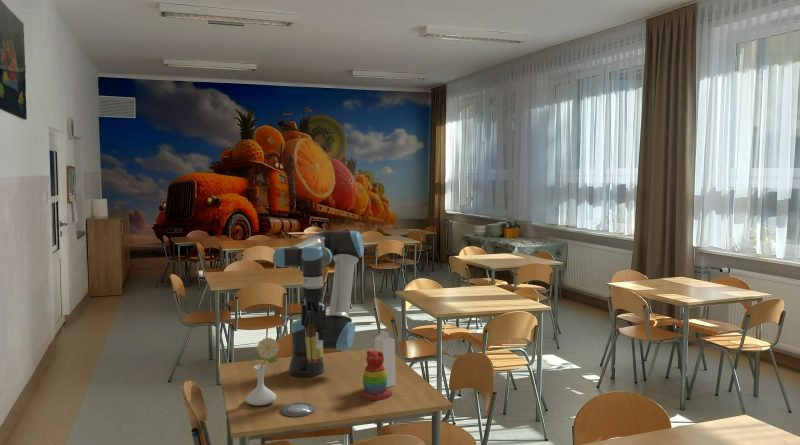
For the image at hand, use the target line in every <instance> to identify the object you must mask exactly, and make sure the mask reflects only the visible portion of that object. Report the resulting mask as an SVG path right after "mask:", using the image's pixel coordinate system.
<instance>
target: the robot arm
mask: <svg viewBox="0 0 800 445" xmlns="http://www.w3.org/2000/svg"><path fill="white" fill-rule="evenodd" d="M364 250H365V249H364V240H363V236H362V234H361V233H360V232H359V231H358V230H325V231H324V230H323V231H320V232H318V233H314V234H312V235H309V236H307V237H306V239H305V240H303V241H301V242H298V243H297V244H294V245H292V246H289V247H278V248H276V249H275V251H274V254H273V261H274V264H275V266H276V267H280V268H281V267H282V268H302V286H303V288H302V296H303V298H304V299H303V300H302V299H301V301H300V305H301V313H300V314H301V315H300V316H301V317H300V318H299V319H297V320H295V321H293V322H292V324H291V345H292V348H291V350H292V351H291V352H292V354H291V359H290V363H289V366H288V374H289V375H290V376H292V377H297V378H298V377H299V378H307V377H315V376H319V375H321V374H323V373H324V372H325V364H324V362H323V361H322V362H320V363H309V362H308V358H307V349H306V327H307V325H308V315H307V311H312V314H313V315H314V318H315V323H316V328H317V331H316V349H320V348H323V350H337V351H342V350H343V351H344V350H345V351H346V350H348V349H350V348H351V347H352V345H353V343H354V338H355V334H356V325H355V323H354V322H352V320H353V319H352V318H351V316H350V306H351V299H352V290H353V283H354V272H355V265H356V264H357V263H358V262H359V258H362V257H363V256H364V252H365V251H364ZM332 260H333V261H334V262H335V265H334V272H333V282H332V290H331V296H330V304H329V312H328V313H327V304H324V303H322V299H321V298H323V297H324V288H323V285H324V280H323V279H324V278H323V276H324V275H323V268H325V267H327V266H328V265H329V264H330V263H331V262H332ZM316 311H318V312H316Z"/></svg>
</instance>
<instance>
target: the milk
mask: <svg viewBox="0 0 800 445" xmlns="http://www.w3.org/2000/svg"><path fill="white" fill-rule="evenodd" d="M379 332H380V333H379V334H378V335H377V336H376V337H375V338H374V351H379V352H382V353H383V356H384V361H383V364H382V365H383V366H384V367H385V370H386V375H387V386H386V389H387V388H391V387H394V386H396V339H394V338H392V337H390V332H387V331H384V330H379Z"/></svg>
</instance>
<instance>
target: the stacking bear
mask: <svg viewBox="0 0 800 445" xmlns="http://www.w3.org/2000/svg"><path fill="white" fill-rule="evenodd" d="M365 359H366V363H367V365H365V369H364V371H363V375H362V385H363V398H365V400H369V401H380V400H385V399H388V398H389V397H392V396H393V392H392V390H390V389H387V388H386V386H387V375H386V370H385V367H384V366H383V365H382V364H383V361H384V356H383V353H382V352H379V351H375V350H372V351H371V350H367V351H366V358H365Z"/></svg>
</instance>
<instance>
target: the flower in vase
mask: <svg viewBox="0 0 800 445" xmlns="http://www.w3.org/2000/svg"><path fill="white" fill-rule="evenodd" d="M279 349H280V345H279V344H278V342H277V340H276V339H275V338H272V337H268V336H267V337H266V338H263V339H262V340H259V342H258V344H257V347H256V352H257V354H259V357H261V358H263V359H265V360H264V361H263V362H262V361H260V360H258V359H254V358H253V360H254V361H255V362H259V363H261V364H258V365H257V364H256V365H253V370H254V371H255V373H256V377H257V384H256V387H255V388H254V389H253V390H252V391H251V392H249V393H248V394H247V395H246V397H245V402H246V403H247V404H248V405H252V406H266V405H269V404H271V403H274V402H275V401H276V400H277V394H276V393H274V391H272V390H271V389H269V388H268V387H267V386H266V385H265V383H264V382H265V380H264V378H265V377H264V375H265V371H266V369H267V367H268V366H267V365H266V364H265V363H266V362H267V363H268V364H271V365H272V364H275V363H277V362H278V359H276V358H275V356H276V355H277V354H278V351H279Z"/></svg>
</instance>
